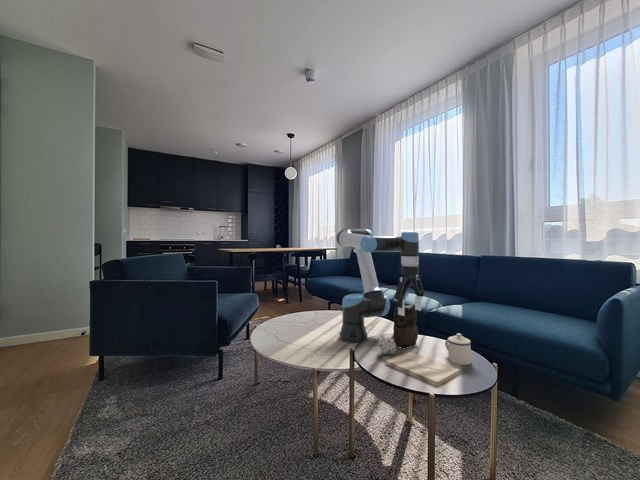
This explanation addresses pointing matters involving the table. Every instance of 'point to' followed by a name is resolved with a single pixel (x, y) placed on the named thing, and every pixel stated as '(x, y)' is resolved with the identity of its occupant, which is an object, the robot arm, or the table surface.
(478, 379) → the table surface
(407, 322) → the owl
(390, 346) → the game die
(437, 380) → the board
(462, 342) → the teacup with lid
